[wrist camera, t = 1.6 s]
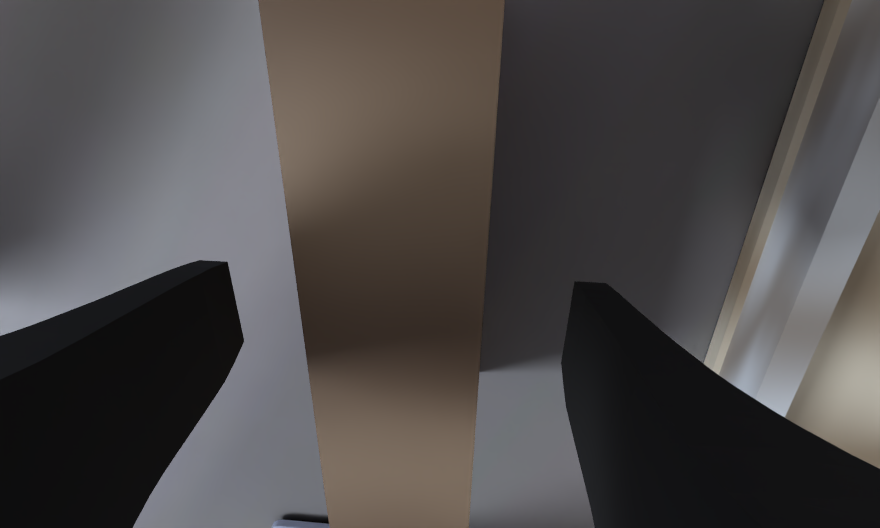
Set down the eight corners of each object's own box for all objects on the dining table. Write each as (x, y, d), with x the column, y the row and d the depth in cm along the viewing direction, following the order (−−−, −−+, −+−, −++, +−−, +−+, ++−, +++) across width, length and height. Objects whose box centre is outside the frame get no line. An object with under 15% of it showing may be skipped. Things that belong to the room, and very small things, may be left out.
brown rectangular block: (474, 370, 18) (467, 541, 12) (379, 364, 18) (329, 528, 13) (497, -3, 12) (505, -11, 7) (360, -5, 13) (256, -15, 7)
